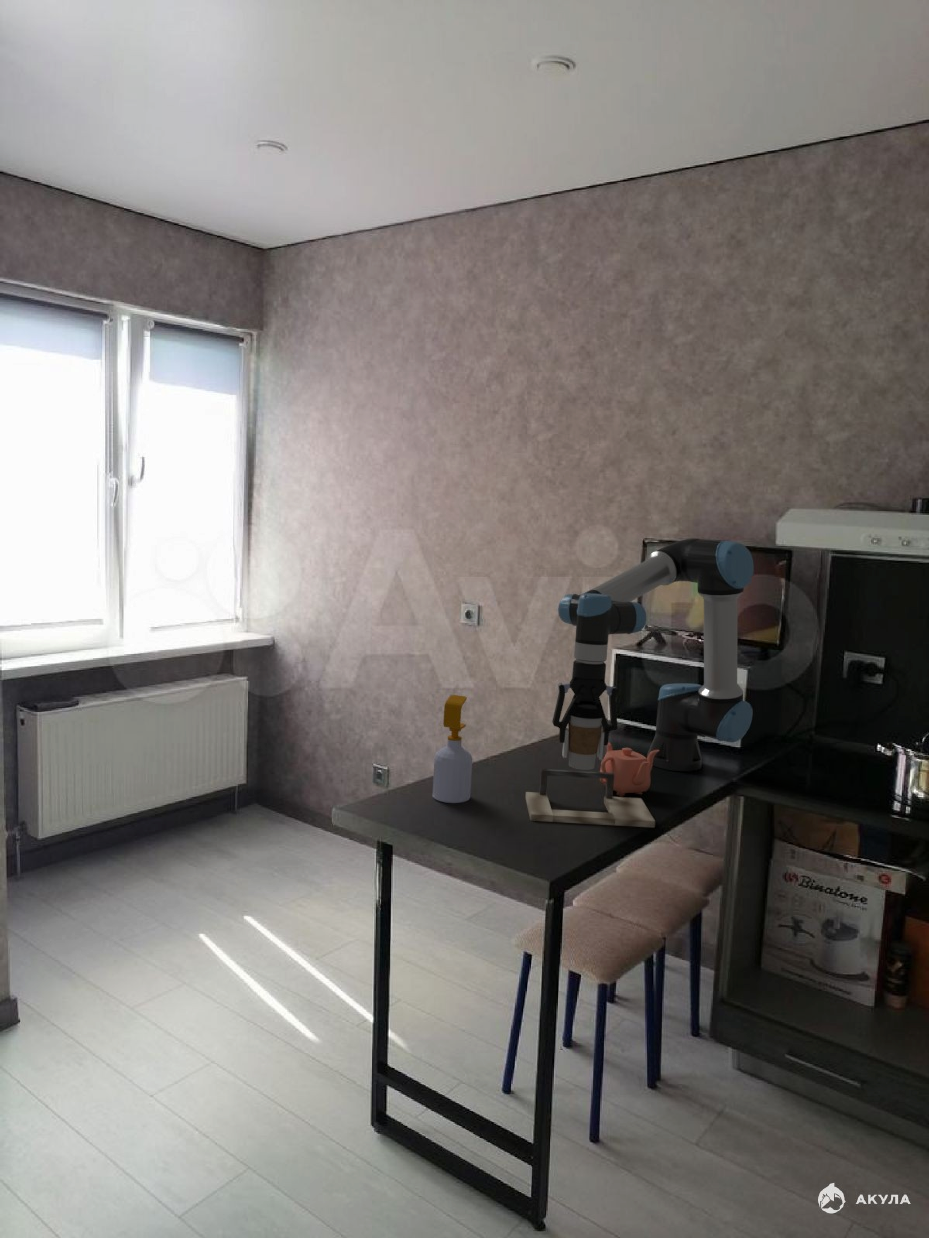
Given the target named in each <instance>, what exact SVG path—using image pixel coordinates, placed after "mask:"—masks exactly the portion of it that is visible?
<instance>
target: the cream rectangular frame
mask: <svg viewBox="0 0 929 1238" xmlns="http://www.w3.org/2000/svg"><path fill="white" fill-rule="evenodd" d="M548 776H550V777H551V776H552V777H566V778H567V777H571V778H587V779H600V778H601V779H607V780H606V786H605V787H606V788H605V795H604V796H603V803H604V806H605V808H606V810H607V812H605V811H604V812H603V811H602V812H601V811H583V810H568V809H552V807H551V804H550V803H551V802H550V801H549V800H550V799H549V797H548V796H549V795H548V794H547V790H548V789H547V786H548ZM539 780H540V781H539V790H538V791H539V792H531V791H525V801H526V806H527V811H528V815H529V820H530V821H531V822H549V823H568V824H569V823H570V824H582V825H583V824H586V825H600V826H601V825H603V826H605V825H606V826H621V827H639V828H655V827H656V820H655V818H654V817H653V815H652V813H651V812H650V811H649V809H648V807H647V806H646V804H645V802H644V800H643V799H642V798H641V797H626V796H625V797H624V796H613V795H614V790H613V785H614V773H609V772H607V773H606V772H600V771H590V770H571V769H570V770H567V769H553V768H552V769H551V768H540V778H539Z"/></svg>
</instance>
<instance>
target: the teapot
mask: <svg viewBox="0 0 929 1238" xmlns="http://www.w3.org/2000/svg"><path fill="white" fill-rule="evenodd" d="M605 747H606V753H605V756H604V757H603V758H602V760H601V762H600V770H599V772H606V773H607V772H609V773H614V785H613V791H614V792H616V796H618V797H624V796H625V797H626V794H631V793H634V794H635V795H643V792H647V791H648V790H649V788H650V786H651V771H652V769H653V759H654V756H655V754H656V753H657V752H658V751H659V750H653V751H651V752H650V753H649V755H648V757H647V756H646V757H645V756H644V755H643V754H641V753H639V752H636V751H633V749H632V748H630V747H623V748H621V749H618V750H613V749H614V748H613V746H612V744H611V742H609V741H608V745H605ZM606 780H607V779H601V778H599V782H600V783H601V784H603V785H604V788H605V789H606Z"/></svg>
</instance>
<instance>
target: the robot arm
mask: <svg viewBox="0 0 929 1238" xmlns="http://www.w3.org/2000/svg"><path fill="white" fill-rule="evenodd" d="M754 569H755V568H754V560H753V556H752V554H751V551H750V549H748V548H747V546H746V545H744V544H743V543H741V542H737V541H730V540H723V539H722V540H721V539H705V538H686V539H682V540H681V539H680V540H679V541H676V542H673V543H669V544H667V545H666V546H664V547H660V548H659V549H657V550H655V551H653V552H652V553H650V554H649V555H648V557H647V559H646V560H644V561H642V562H641V563H638V564H637V565H635V566H633V567H631V568H629V569H627V570H626V571H623V572H621V573H620V574H618V575H616V576H614V577H613V578H610V579H608V580H606V581H605V582H603V583H601V584H599V585H597V586H594V587H593V588H591V589H589V590H587V591H585V592H584V593H581V594H577V593H573V594H572V593H571V594H570V593H568V594H565V595H563V597H562V598H561V599H560V601H559V602H558V607H557V611H558V617H559V618H560V620H561V621H562V622H563V623H564V624H565V623H566V624H569V625H571V626H573V627H574V626H575V627H576V628H575V638H574V639H575V642H574V652H573V653H574V654H573V658H574V659H575V660H574V661H573V664H572V673H571V675H572V676H571V679H570V681H569V682H567V683H562V682H560V683H558V684H557V688H558V689H557V690H558V695H557V699H556V703H555V708H554V712H553V717H552V720H551V722H552V724H553V726H554V727H557V728H558V729H559V732H558V741H559V743H560V744H562V753H561V755H562V758H563V759H567V758H568V749H569V730H568V723H569V721H570V719H571V715H569V714H570V711H571V708H572V706H576V707H577V705H578V704H579V702H580V701H587V700H588V701H591V702H594V703H595V705H596V708H600V707H602V710H603V714H604V717H603V718H602V721H601V725H602V727H601V728H602V729H601V732H600V738H599V743H598V749H597V753H596V758H597V759H598V761H602V760H603V758H604V757H603V756H604V746H606V745H608V742H609V739H610V738H609V736H610V733H611V732H612V731H616V730H618V714H617V713H618V712H617V699H616V698H617V695H618V691H619V690H618V688H617V687H616V686H614V685H613V686H610V685H607V684H606V670H607V664H606V661H607V660H608V659H607V658H608V646H609V645H608V644H609V636H610V635H631V634H636V633H639V632H640V631H642V630H643V629H644V627H645V626H646V623H647V612H646V610H645V607H644V606H643V605H642V604H641V603H639V602H636V601H634V600H636V599H638V598H640V597H641V596H644V595H646V594H647V593H650V592H651V591H652V590H655V589H656V588H658V587H660V586H670V585H672V584H673V583H676V582H689V583H695V584H696V583H697V594H698V595H699V596H701V598H702V599H703V685H701V684H698V683H687V682H686V683H685V682H684V683H683V682H682V683H681V682H680V683H679V682H678V683H667V684H663V685H662V686H661V687H660V689H659V691H658V692H659V693H658V698H657V710H656V722H655V723H656V724H655V725H656V726H655V735H654V738H653V740H652V742H651V745H650V747H649V749H648V750H647V754H646V755H647V756H646V758H647V757H648V755H649V753H650V752H651V751H653V750H659V751H658V752H657V753H656V754H655V756H654V759H653V765H652V767H656V768H660V769H663V770H668V771H677V772H693V770H695V771H698V769H699V770H700V769H701V768H702V765H703V764H702V763H703V760H702V759H703V758H702V755H701V750H700V745H699V742H698V741H699V740H698V737H699V735H701V736H702V737H703V736H704V737H707V738H710V739H714V740H717V741H719V742H726V743H735V742H736V743H737V742H738V741H740V740H741V739H743V737H744V736H746V734H747V731H748V730H749V729H750V727H751V724H752V720H753V711H754V710H753V707H752V705H751V704H750V703H749V702H748V701H745V700H744V690H743V689H742V688H741V687H740V686H739V685H738V600H739V599H738V598H739V597H740V596H742V594H743V593H744V588H746V587H748V585H749V584H750V583H751V581H752V577H753V575H754V571H755V570H754ZM569 689H571V691H572V693H573V697H572V698H571V701H570V703H569V705H568V707H567V710H566V711H565V713H564V715H563V717H562V719H561V715H562V711H563V706H564V703H565V702H564V701H565V698H566V694H567V693H569V692H568V691H569ZM605 691H606V694H607V696H608V706H609V708H608V709H609V717H610V718H609V720H610V721H609V722H610V724H608V720H607V718H606V714H605V711H604V707H603V704H602V702H601V698H600V697H601V696H602V695H603V693H604V692H605ZM560 720H561V721H560Z"/></svg>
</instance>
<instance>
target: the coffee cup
mask: <svg viewBox="0 0 929 1238" xmlns="http://www.w3.org/2000/svg"><path fill="white" fill-rule="evenodd" d="M602 707H603V706H602ZM602 707H600V708H596V705H595V703H594V702H591V701H588V700H587V701H580V702H579V704H578V705H577V707H576V706H572V708H571V711H570V714H569V715H571V719H570V721H569V723H568V725H567V728H568V730H569V736H568V766H569V767H570V768H573V769H575V770H579V771H590V770H593V769H595V766H596V765H595V764H596V759H597V754H598V743H599V738H600V732H601V730H602V728H603V727H602V724H601V721H602V718H603V717H604V714H605V713H604V714H603V711H604V709H603V710H602Z"/></svg>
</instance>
